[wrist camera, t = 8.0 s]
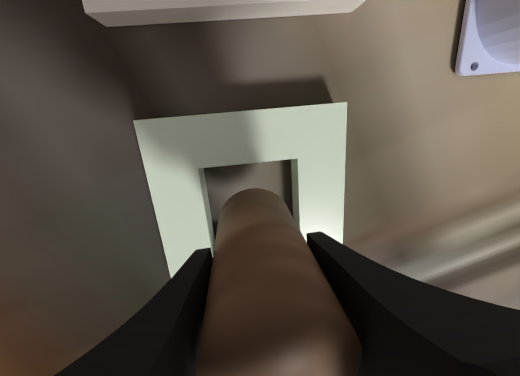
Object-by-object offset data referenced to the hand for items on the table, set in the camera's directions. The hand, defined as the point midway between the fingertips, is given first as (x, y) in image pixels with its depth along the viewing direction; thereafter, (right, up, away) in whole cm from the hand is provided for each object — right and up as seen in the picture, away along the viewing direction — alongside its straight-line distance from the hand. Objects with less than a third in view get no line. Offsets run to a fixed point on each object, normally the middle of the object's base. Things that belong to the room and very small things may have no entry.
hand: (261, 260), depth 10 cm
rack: (-1, +2, +7) cm, 8 cm away
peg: (0, +1, +3) cm, 3 cm away
